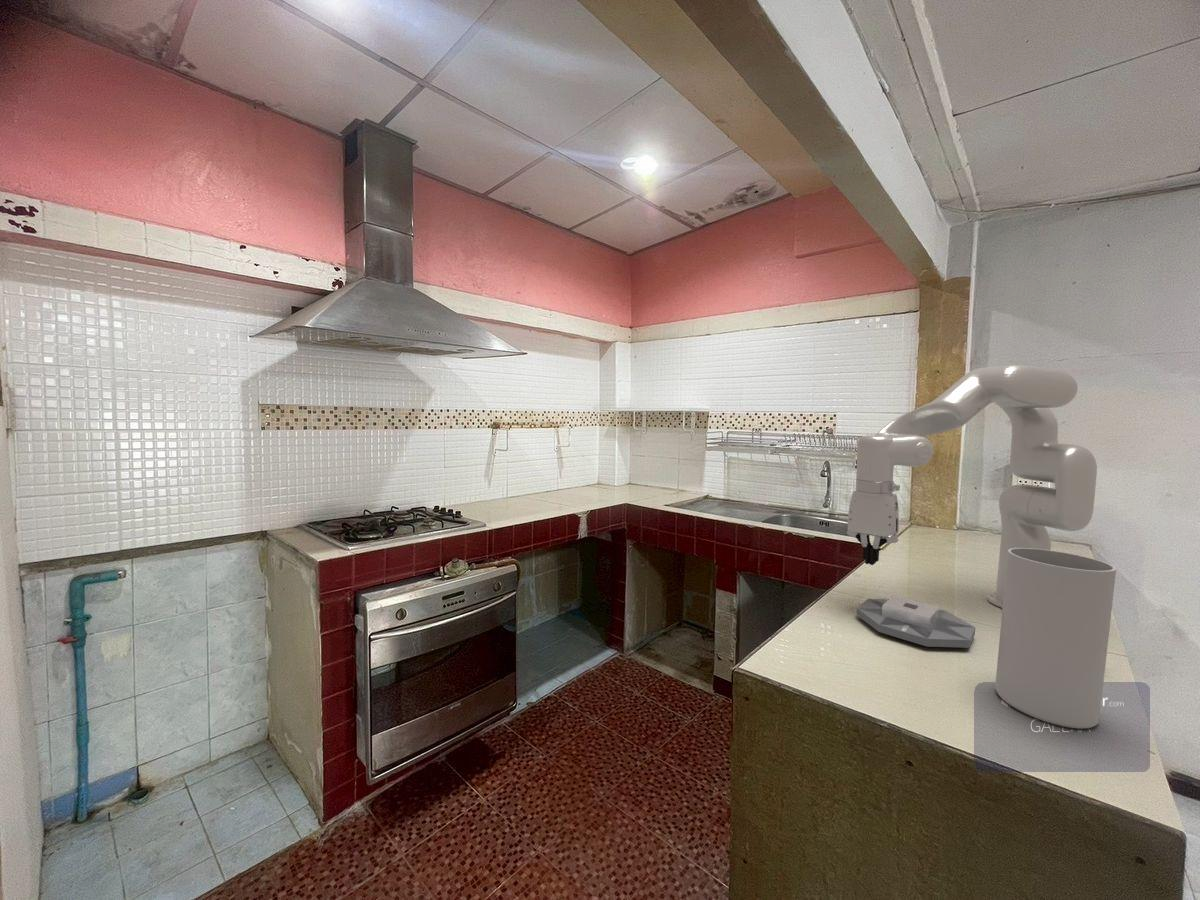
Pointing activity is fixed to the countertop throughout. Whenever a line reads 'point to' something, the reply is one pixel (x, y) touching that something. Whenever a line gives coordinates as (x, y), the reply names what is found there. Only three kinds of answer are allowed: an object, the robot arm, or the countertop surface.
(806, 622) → the countertop surface
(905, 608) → the cover
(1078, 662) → the cylinder vase
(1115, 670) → the countertop surface
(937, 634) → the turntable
